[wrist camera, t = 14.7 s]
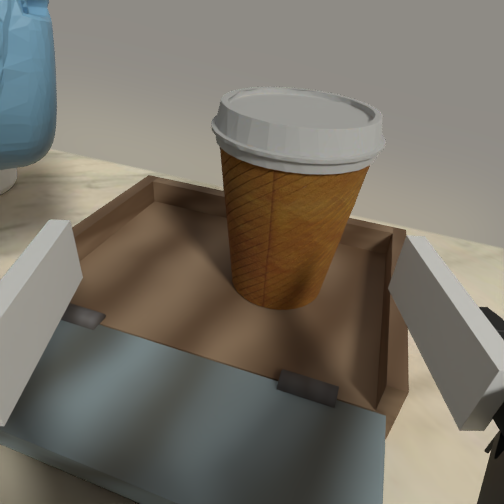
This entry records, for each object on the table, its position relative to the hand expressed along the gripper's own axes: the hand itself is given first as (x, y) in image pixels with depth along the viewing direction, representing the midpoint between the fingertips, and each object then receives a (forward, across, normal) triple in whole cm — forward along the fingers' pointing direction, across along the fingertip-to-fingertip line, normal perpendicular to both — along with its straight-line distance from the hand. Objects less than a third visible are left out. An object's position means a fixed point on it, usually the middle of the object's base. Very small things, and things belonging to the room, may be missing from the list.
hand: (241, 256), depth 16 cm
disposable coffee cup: (+9, +3, -8) cm, 12 cm away
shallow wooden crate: (+6, -1, -10) cm, 12 cm away
